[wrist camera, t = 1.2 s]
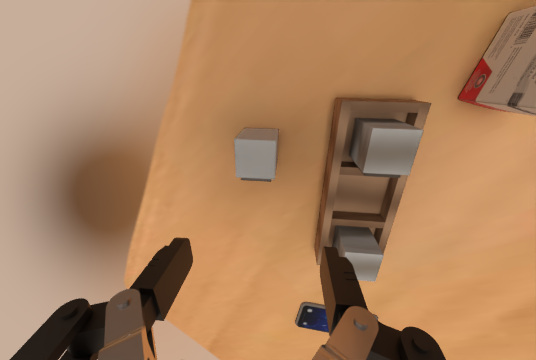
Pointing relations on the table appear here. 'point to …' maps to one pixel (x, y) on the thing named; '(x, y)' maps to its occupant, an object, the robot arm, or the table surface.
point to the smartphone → (313, 317)
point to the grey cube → (256, 154)
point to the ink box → (507, 68)
